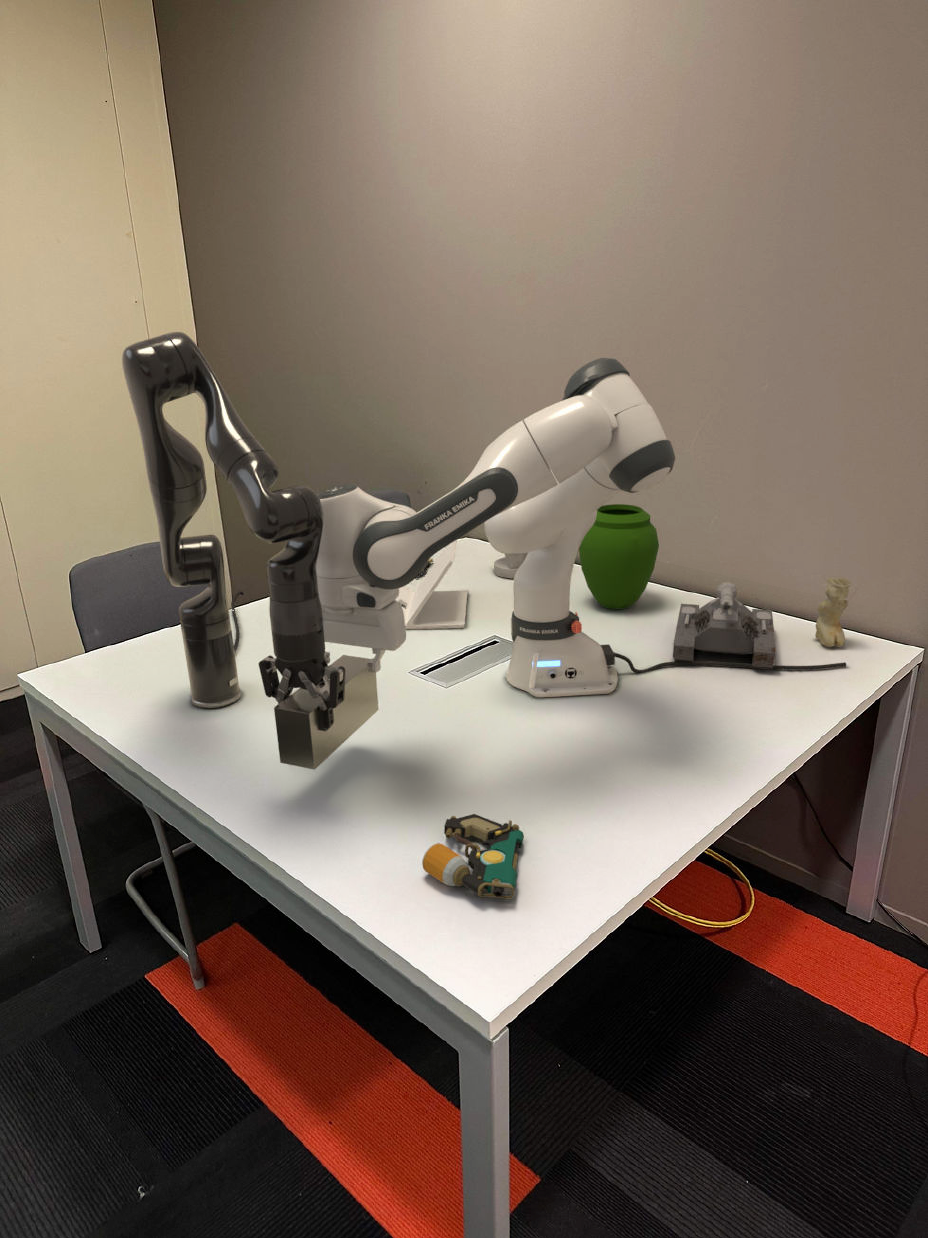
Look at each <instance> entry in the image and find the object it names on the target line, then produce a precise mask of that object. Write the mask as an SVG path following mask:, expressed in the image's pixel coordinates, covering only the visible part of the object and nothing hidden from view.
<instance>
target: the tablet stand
mask: <svg viewBox="0 0 928 1238" xmlns="http://www.w3.org/2000/svg"><path fill="white" fill-rule="evenodd" d="M457 545H458V539H457V540H455V541H454V542H452V543H451V544H449V545H447V546H446V547H444V548H443V549H442V551H441V552H440V554H439V555H438V556H437V558H436V559H435V561H433V564H432V565H431V567H430V568H429V569H428V571H427V573H426V574H425V575H424V577H423V579H422V580H421V581H420V583H419V584H418V585H417V587H416V589H415V590H412V589H410V588H409V587H407V586H404V587H401V588H399V596H398V597H397V598H396V599H395V600H396V601H398V602H399V603H400V605H401V607H402V609H403V613H404V619H405V626H406V630H426V629H427V630H429V629H430V630H431V629H435V630H436V629H437V630H438V629H464V628H465V627H466V618H467V617H466V616H467V605H468V591H467V590H436V589H437V587H438V585H440V582H441V581H442V580H443V578H444V577H445V575H446V574H447V573H448V571H449V570H450V569H451V567H452V566H453V564H454V562H455V558H456V553H457ZM402 605H403V606H405V607H403V606H402Z"/></svg>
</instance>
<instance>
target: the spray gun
mask: <svg viewBox="0 0 928 1238" xmlns="http://www.w3.org/2000/svg"><path fill="white" fill-rule="evenodd" d="M443 828H444V829H443V834H444V835H445V838H446V839H451V838H452V837H454V839H455V840H456V841H457V842H458V843H460V844H462V845H465V848H464V855H465V858H467V859H468V860H467V861H466V860H465V858H464V857H463V856H462V855H460V854H458V853H457V852H455V851H454V850H453V849H450V848H449V847H447V845H445V844H443V843H439V842H438V843H434V844H432V845H431V846H430V847H429V848H427V850H426V851H425V853H424V855H423V857H422V860H421V864H422V869H423V871H425V872H426V873H427V874H428V875H430V876H432V877H433V878H434V879H436V880H437V881H439V882H441V883H442V884H444V885H446V886H450V887H463V886H465V887H467V888H468V889H469V890H471V891H472V892H473V893H474V894H475V895H477V896H478V897H479V898H485V897H488V898H497V899H505V900H512V899H514V897H515V890H516V885H517V879H518V871H517V864H518V859H519V855H518V852H519V851H518V850H520V849H522V847H523V844H524V837H525V835H524V832H523V831H522V830H520V826H519V825H518V824H516V823H514V824H513V821H512V819H511V820H509V821H508V823H507V822H504V823H503V824H501V823H498V822H496V821H494V820H491V819H489V818H486V817H484V816H481V815H478V814H476V813H472V814H468V815H464V816H461V817H456V815H452V816H451V817H450V818H447V819H446V820H445V823H444V827H443ZM471 836H472V837H474V838H477V839H479V840H481V841H482V845H483V846H489V847H490V848H485V849H482V850H481V847H480V845H478V844H476V843H473V842H471V841H470V840H468V839H466V838H468V837H471ZM463 837H465V838H463ZM469 849H471V850H470V852H469ZM470 868H471V869H470ZM471 871H472V872H471ZM485 891H486V892H485ZM504 894H505V895H504Z"/></svg>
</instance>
